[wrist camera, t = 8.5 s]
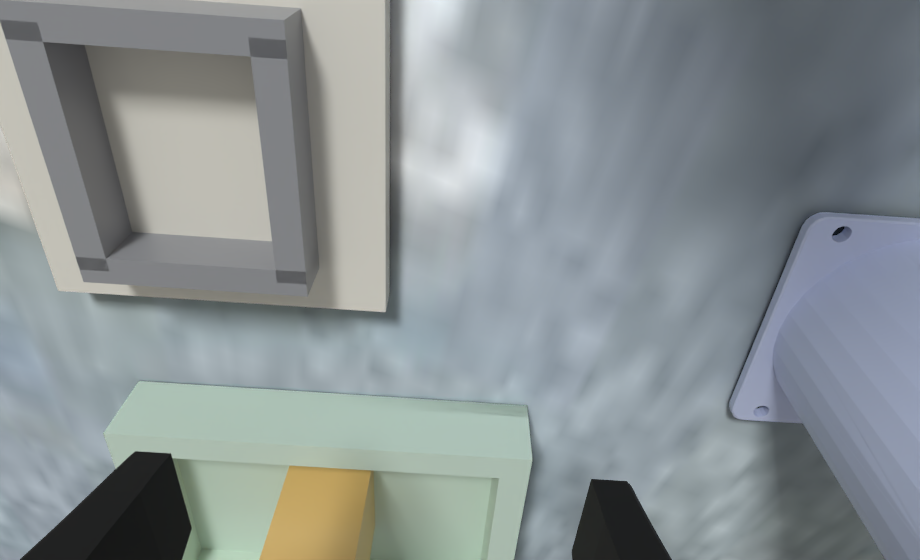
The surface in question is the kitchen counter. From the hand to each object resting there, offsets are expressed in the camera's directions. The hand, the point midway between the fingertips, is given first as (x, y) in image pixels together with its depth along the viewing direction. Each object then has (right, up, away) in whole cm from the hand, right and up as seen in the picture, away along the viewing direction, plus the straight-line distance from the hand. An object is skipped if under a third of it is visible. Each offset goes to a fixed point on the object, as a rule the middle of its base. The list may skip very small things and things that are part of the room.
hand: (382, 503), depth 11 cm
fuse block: (-6, +8, +6) cm, 12 cm away
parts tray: (-4, -4, +14) cm, 15 cm away
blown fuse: (-4, -4, +13) cm, 14 cm away
